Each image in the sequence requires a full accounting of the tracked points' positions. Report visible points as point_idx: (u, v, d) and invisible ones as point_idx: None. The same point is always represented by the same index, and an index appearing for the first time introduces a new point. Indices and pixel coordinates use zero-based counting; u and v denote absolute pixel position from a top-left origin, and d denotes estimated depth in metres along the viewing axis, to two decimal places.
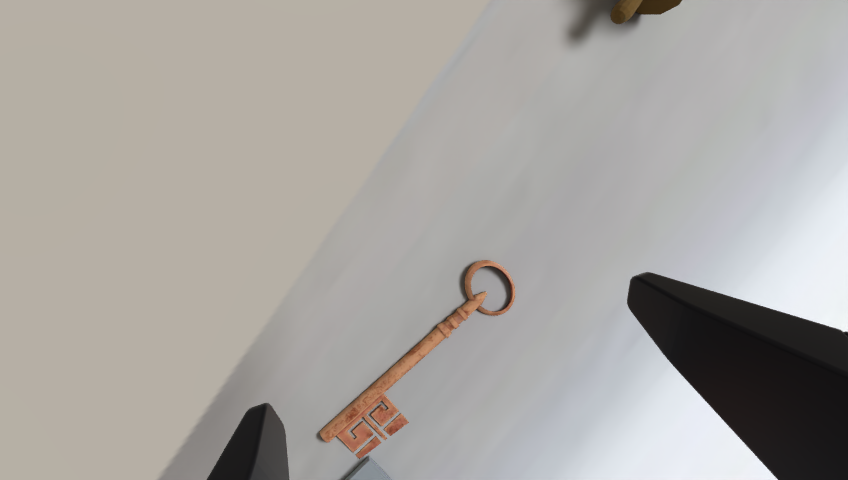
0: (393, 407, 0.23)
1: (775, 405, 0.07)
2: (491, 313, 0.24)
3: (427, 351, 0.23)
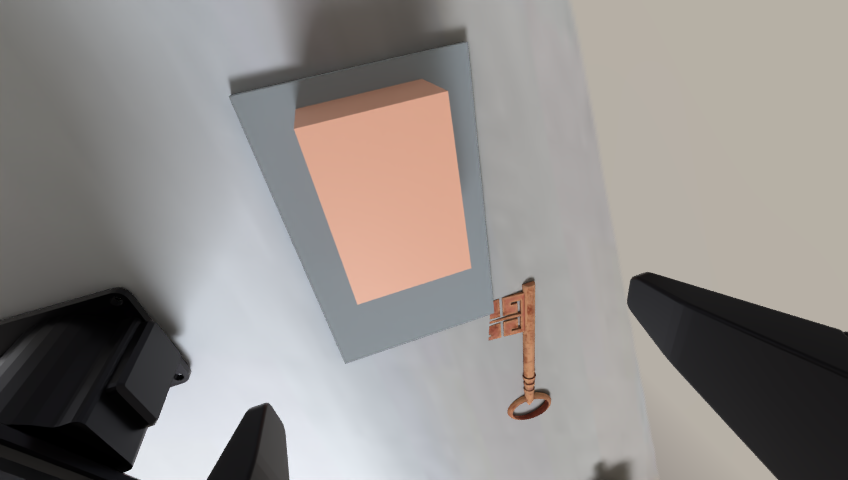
0: (509, 334, 0.27)
1: (775, 405, 0.07)
2: (515, 405, 0.31)
3: (528, 366, 0.29)
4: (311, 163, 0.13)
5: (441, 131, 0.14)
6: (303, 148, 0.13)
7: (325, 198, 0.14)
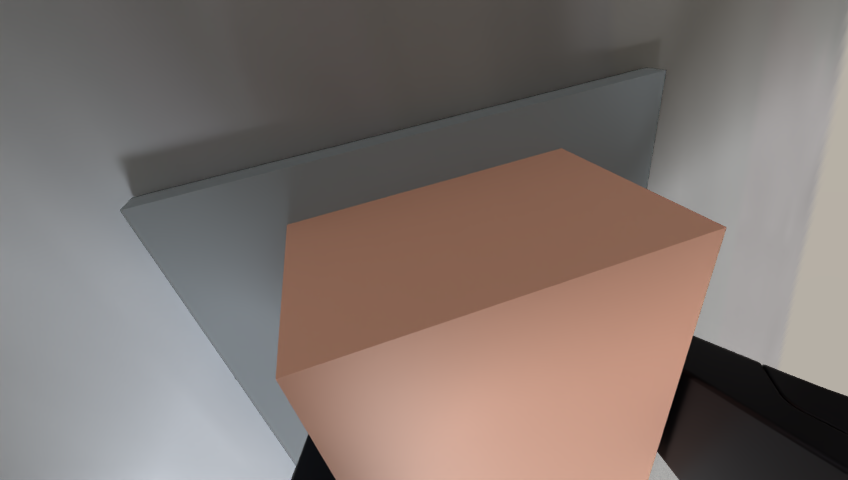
0: None
1: (697, 439, 0.07)
2: None
3: None
4: (329, 441, 0.05)
5: (673, 318, 0.05)
6: (306, 417, 0.04)
7: None
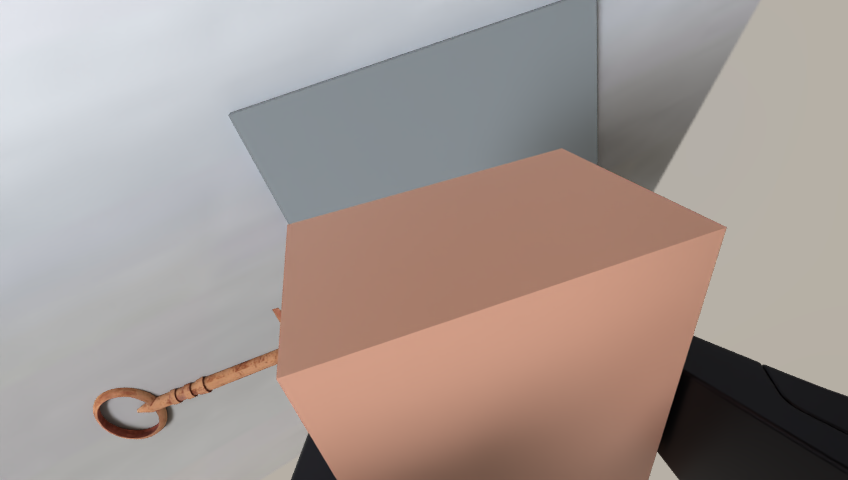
0: None
1: (697, 439, 0.07)
2: (134, 394, 0.20)
3: (230, 375, 0.21)
4: (330, 441, 0.05)
5: (674, 318, 0.05)
6: (307, 417, 0.04)
7: None
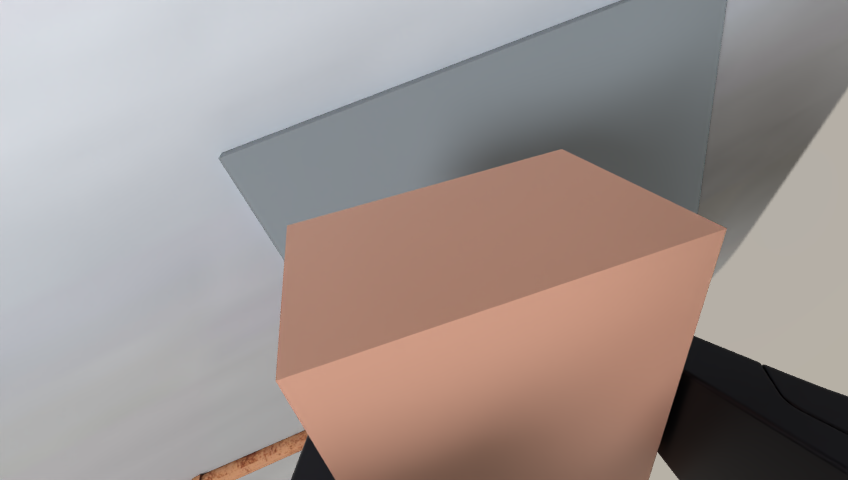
0: None
1: (697, 439, 0.07)
2: None
3: (234, 472, 0.16)
4: (330, 442, 0.04)
5: (674, 319, 0.05)
6: (307, 419, 0.04)
7: None
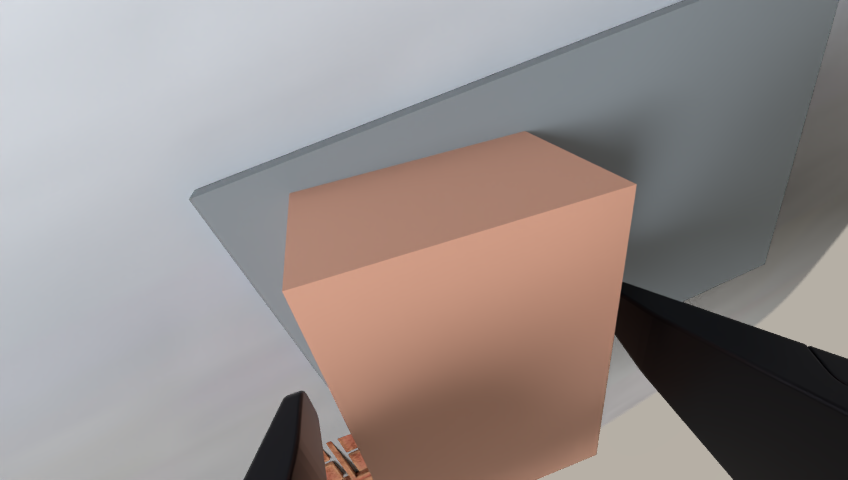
0: None
1: (741, 420, 0.07)
2: None
3: None
4: (323, 351, 0.06)
5: (603, 262, 0.06)
6: (305, 327, 0.05)
7: (352, 405, 0.06)
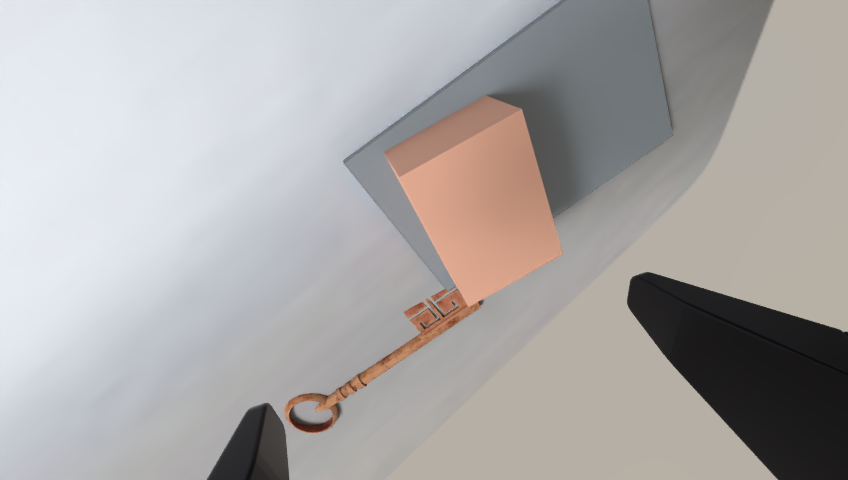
0: (415, 324, 0.24)
1: (775, 405, 0.07)
2: (311, 397, 0.24)
3: (378, 369, 0.25)
4: (416, 200, 0.15)
5: (520, 144, 0.15)
6: (409, 190, 0.15)
7: (431, 226, 0.16)
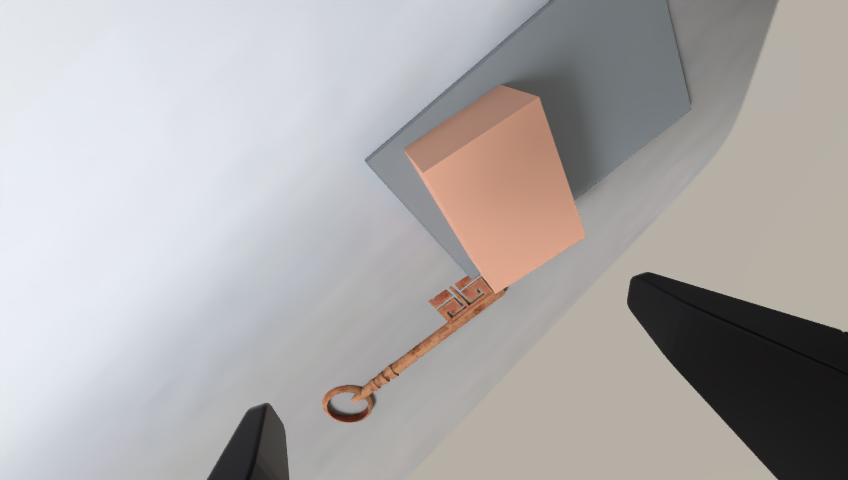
0: (442, 313, 0.25)
1: (775, 405, 0.07)
2: (347, 389, 0.25)
3: (409, 358, 0.25)
4: (440, 194, 0.16)
5: (539, 132, 0.16)
6: (432, 185, 0.15)
7: (455, 218, 0.17)
